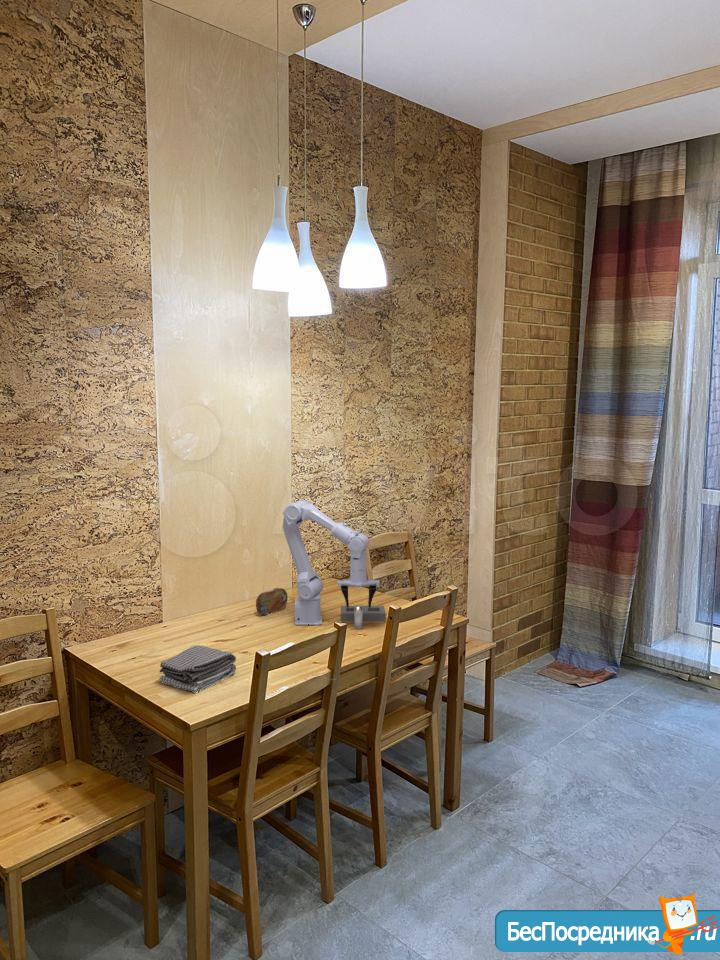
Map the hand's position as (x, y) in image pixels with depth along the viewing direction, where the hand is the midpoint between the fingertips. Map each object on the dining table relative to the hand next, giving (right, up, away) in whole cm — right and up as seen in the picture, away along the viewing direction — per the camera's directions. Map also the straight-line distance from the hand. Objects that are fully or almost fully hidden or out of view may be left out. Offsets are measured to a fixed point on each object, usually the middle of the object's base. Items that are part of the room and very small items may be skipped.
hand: (358, 606), depth 266 cm
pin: (0, -8, +1) cm, 8 cm away
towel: (-47, -14, -43) cm, 66 cm away
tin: (-33, -5, +19) cm, 38 cm away
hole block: (+2, -6, +11) cm, 13 cm away
